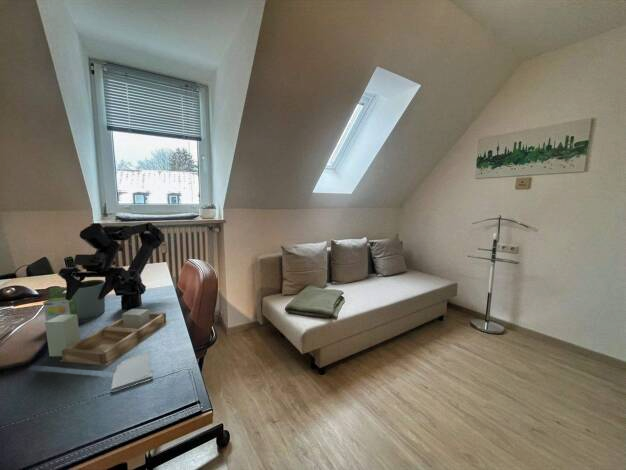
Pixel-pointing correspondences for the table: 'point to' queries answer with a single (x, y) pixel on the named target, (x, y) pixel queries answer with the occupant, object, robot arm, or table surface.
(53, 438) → the table surface
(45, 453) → the table surface
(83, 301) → the dark green round bin
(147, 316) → the grey jaw block
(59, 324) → the green block
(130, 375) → the hard drive
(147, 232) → the robot arm
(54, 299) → the ink box
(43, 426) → the table surface
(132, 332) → the oak housing tray
